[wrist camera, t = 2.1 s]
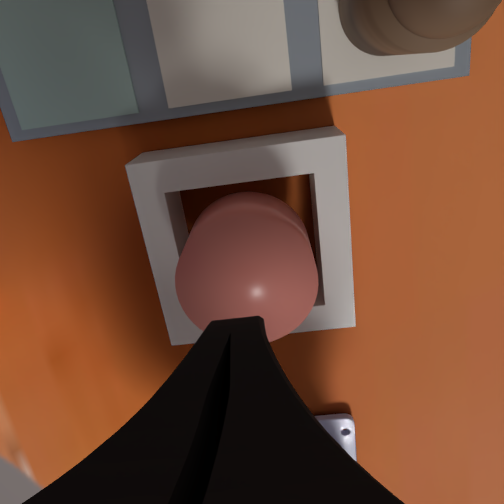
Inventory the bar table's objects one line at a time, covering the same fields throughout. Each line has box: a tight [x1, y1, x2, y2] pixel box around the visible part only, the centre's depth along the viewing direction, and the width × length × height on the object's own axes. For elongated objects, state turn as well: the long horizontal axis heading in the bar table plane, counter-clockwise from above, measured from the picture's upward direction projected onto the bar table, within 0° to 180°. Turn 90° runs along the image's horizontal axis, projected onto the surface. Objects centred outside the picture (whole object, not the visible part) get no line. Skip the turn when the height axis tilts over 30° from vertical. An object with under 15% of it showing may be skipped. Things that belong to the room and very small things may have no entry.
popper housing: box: [125, 126, 356, 346], centre depth 18 cm, size 8×8×2 cm
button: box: [175, 191, 318, 342], centre depth 16 cm, size 5×5×3 cm
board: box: [0, 0, 471, 142], centre depth 16 cm, size 6×18×1 cm, turn 98°
